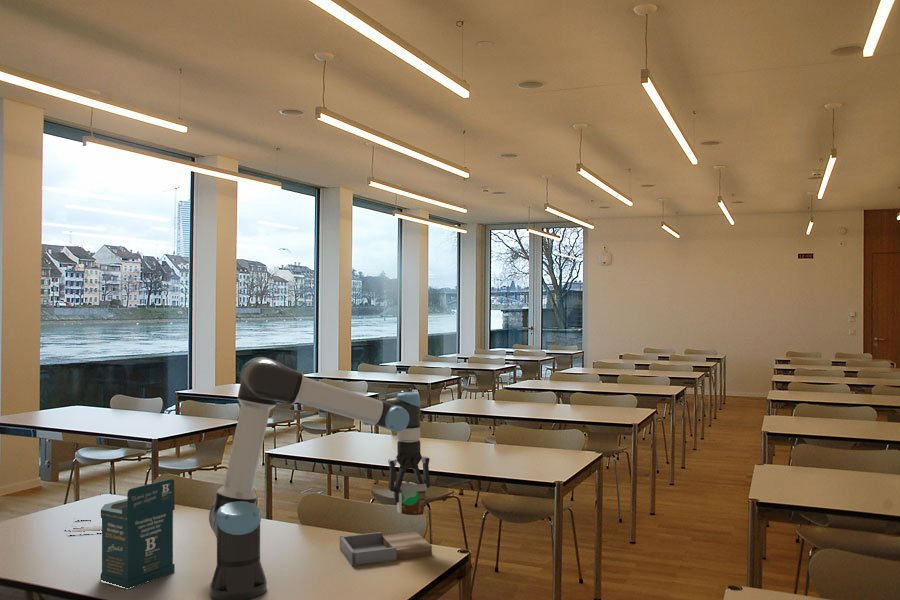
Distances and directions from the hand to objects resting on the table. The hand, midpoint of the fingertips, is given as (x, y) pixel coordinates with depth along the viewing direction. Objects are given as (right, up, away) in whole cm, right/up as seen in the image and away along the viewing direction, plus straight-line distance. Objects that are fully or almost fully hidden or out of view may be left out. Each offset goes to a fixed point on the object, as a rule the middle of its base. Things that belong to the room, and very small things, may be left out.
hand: (409, 510), depth 239 cm
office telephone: (-116, -15, +29) cm, 120 cm away
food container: (-1, -1, -1) cm, 1 cm away
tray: (-13, -12, -5) cm, 19 cm away
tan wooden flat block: (-1, -13, -1) cm, 13 cm away
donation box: (-80, -13, -23) cm, 84 cm away
